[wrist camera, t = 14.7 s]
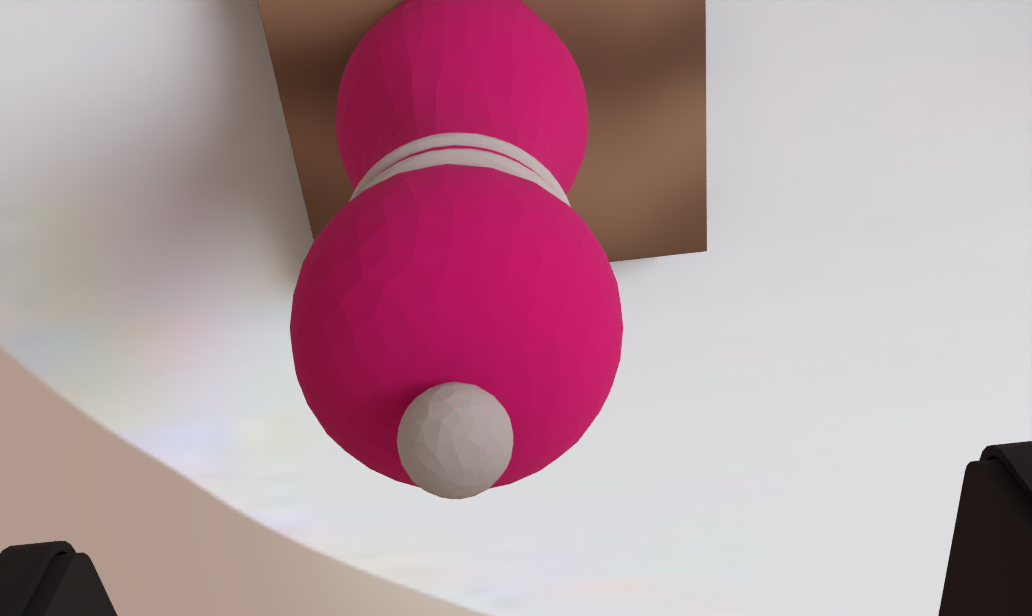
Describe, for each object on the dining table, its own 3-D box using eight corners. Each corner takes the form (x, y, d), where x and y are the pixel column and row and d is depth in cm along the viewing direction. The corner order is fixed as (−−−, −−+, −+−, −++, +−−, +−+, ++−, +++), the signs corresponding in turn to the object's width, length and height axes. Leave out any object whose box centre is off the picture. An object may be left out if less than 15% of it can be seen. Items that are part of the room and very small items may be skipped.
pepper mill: (337, 157, 32) (182, 617, 15) (371, -62, 29) (220, 203, 11) (543, 200, 33) (621, 673, 16) (599, -7, 30) (777, 311, 13)
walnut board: (226, -200, 29) (210, -197, 27) (689, -256, 28) (703, -257, 27) (333, 268, 37) (326, 293, 35) (695, 227, 36) (706, 250, 35)
